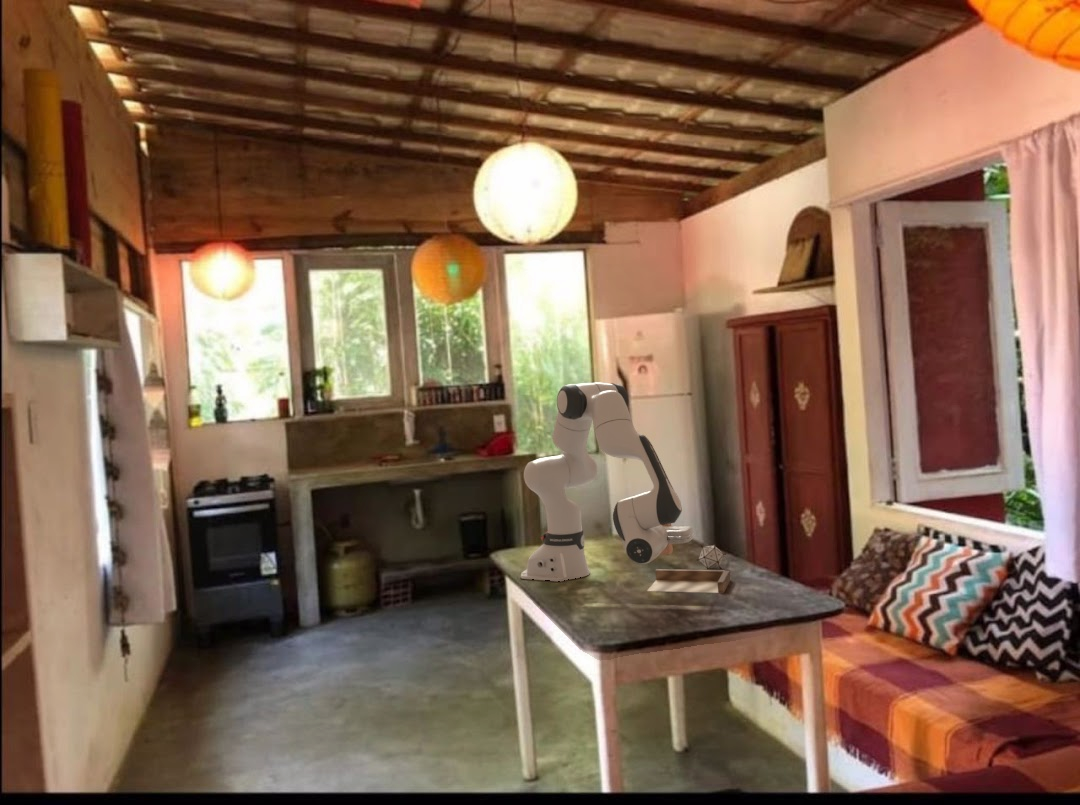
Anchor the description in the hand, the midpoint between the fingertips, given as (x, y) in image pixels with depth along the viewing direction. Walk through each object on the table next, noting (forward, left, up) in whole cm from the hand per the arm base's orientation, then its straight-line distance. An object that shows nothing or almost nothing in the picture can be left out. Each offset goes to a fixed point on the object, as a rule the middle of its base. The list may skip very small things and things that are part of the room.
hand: (662, 528), depth 251 cm
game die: (+10, +23, -18) cm, 31 cm away
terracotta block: (0, -1, -7) cm, 7 cm away
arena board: (+7, -1, -18) cm, 19 cm away
